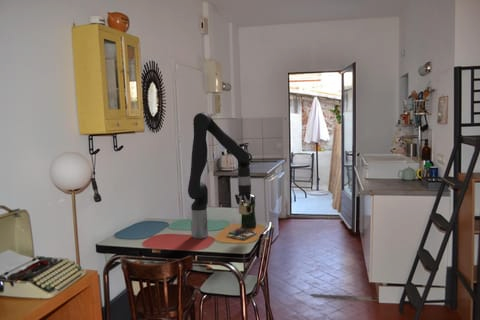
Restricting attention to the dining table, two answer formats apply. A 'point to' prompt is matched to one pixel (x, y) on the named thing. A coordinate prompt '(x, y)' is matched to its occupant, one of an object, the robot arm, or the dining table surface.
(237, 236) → the hinge board
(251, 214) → the coffee jar
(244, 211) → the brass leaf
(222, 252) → the dining table surface
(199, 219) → the robot arm
